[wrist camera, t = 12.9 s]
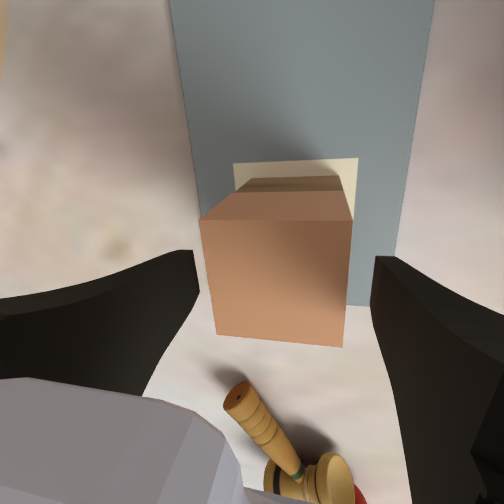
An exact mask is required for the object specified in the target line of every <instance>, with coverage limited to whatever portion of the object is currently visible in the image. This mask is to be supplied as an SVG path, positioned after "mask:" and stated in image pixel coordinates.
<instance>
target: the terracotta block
mask: <svg viewBox="0 0 504 504" xmlns="http://www.w3.org/2000/svg"><path fill="white" fill-rule="evenodd" d="M199 225H200V231H201V238H202V244H203V250H204V257H205V263H206V270H207V276H208V282H209V289H210V295H211V302H212V308H213V314H214V321H215V327H216V334H217V335H225V336H235V337H245V338H254V339H264V340H274V341H283V342H293V343H303V344H312V345H322V346H332V347H341V348H342V345H343V333H344V322H345V310H346V298H347V287H348V275H349V263H350V252H351V240H352V228H353V219H352V215H351V212H350V209H349V206H348V203H347V199H346V196H345V193H344V191H298V192H247V193H231V194H230V195H229V196H227V197H226V198H225V199H224V200H223V201H221V202H220V203H219V204H218V205H216V206H215V207H214V208H213V209H212V210H210V211H209V212H208V213H207V214H206V215H204V216H203V217H202V218H201V219H199Z"/></svg>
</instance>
